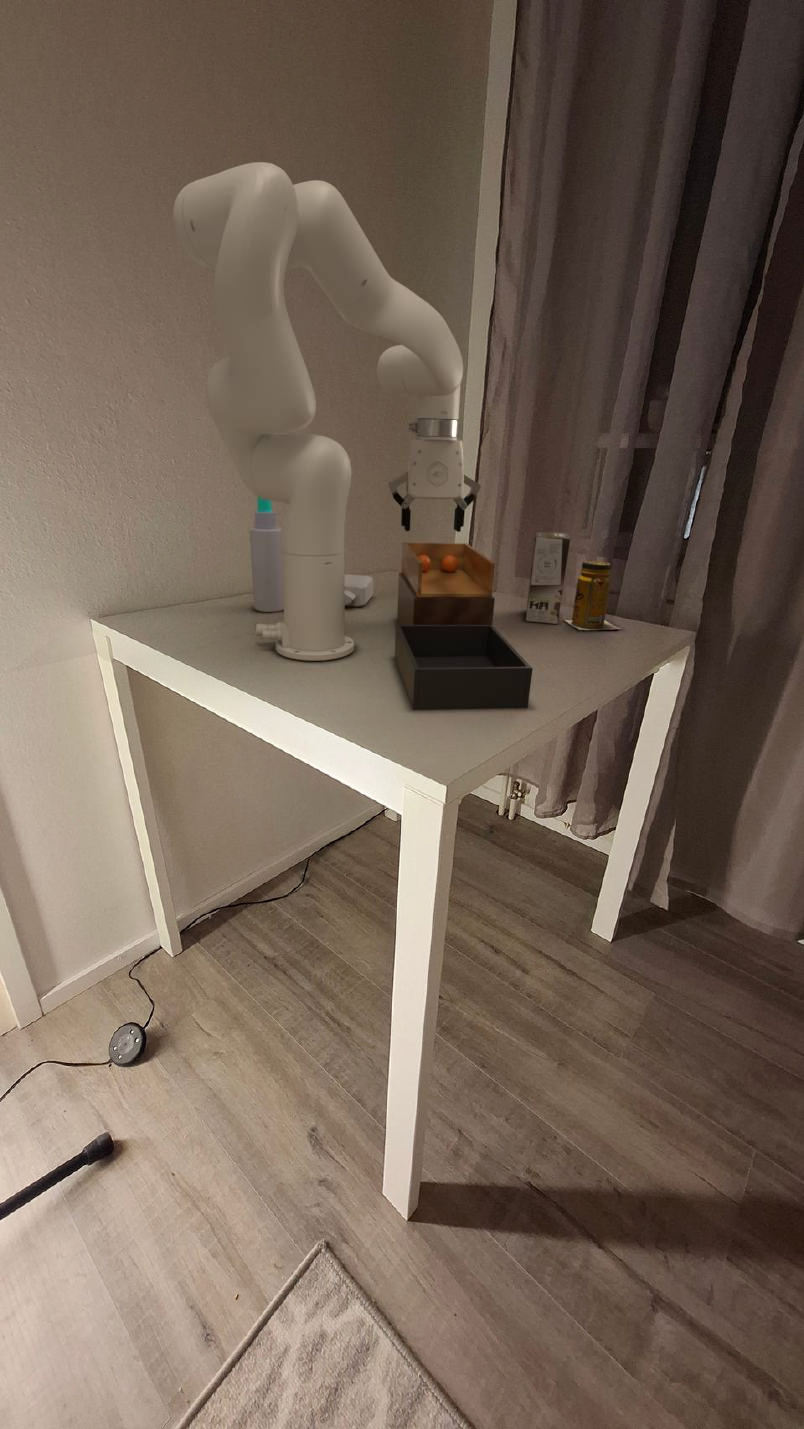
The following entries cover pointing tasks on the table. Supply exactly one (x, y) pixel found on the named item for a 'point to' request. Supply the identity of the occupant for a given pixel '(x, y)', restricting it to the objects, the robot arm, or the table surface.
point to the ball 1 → (425, 562)
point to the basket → (460, 667)
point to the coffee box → (547, 577)
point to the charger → (358, 590)
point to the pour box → (436, 582)
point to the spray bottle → (266, 559)
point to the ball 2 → (449, 563)
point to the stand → (441, 608)
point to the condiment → (592, 597)
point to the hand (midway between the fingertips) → (432, 530)
